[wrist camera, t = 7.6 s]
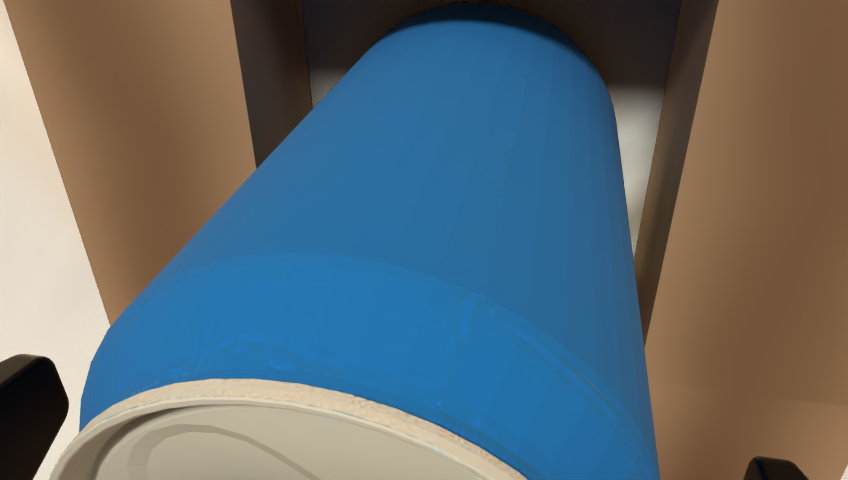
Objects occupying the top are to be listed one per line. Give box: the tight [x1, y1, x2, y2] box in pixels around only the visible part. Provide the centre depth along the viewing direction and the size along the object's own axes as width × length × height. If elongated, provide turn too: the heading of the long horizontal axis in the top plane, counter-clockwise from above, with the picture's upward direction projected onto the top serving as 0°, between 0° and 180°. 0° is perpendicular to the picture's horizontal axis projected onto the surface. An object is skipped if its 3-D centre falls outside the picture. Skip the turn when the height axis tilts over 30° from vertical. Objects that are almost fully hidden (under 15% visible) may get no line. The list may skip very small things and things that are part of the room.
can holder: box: [3, 0, 848, 480], centre depth 15 cm, size 18×18×4 cm
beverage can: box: [49, 2, 661, 480], centre depth 11 cm, size 6×6×12 cm
